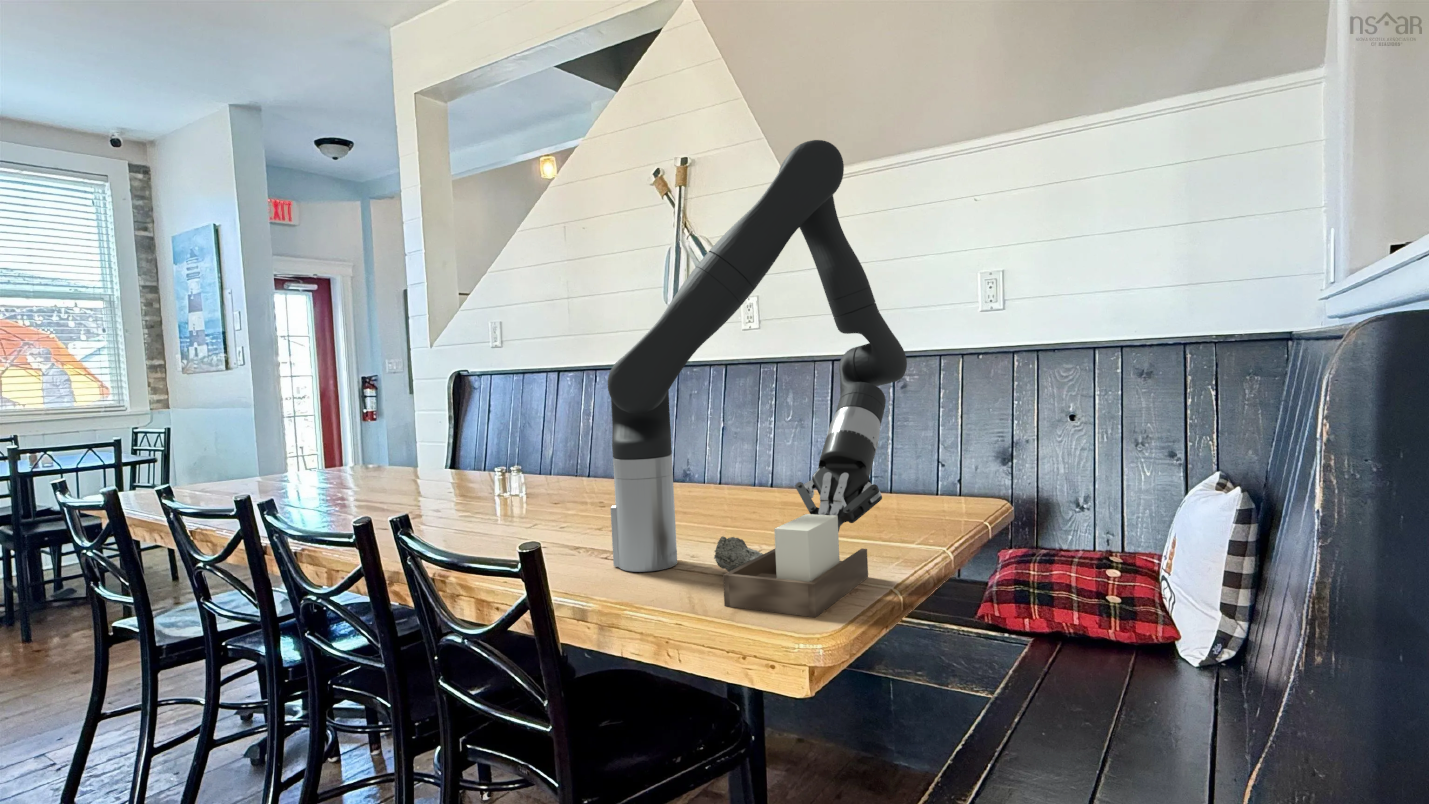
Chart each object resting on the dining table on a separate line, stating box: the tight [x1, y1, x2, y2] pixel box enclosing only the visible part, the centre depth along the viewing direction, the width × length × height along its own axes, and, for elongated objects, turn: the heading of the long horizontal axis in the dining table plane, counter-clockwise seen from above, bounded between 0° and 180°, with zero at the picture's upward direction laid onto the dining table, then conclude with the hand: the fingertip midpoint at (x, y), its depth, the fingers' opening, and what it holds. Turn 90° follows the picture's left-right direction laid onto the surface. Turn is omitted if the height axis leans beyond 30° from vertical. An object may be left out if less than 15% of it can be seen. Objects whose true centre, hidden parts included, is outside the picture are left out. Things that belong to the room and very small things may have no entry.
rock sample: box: [713, 535, 764, 573], centre depth 114 cm, size 10×8×9 cm
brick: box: [774, 513, 841, 582], centre depth 99 cm, size 4×10×8 cm, turn 150°
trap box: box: [722, 548, 869, 618], centre depth 103 cm, size 12×19×4 cm, turn 150°
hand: (823, 544), depth 104 cm, fingers closed
